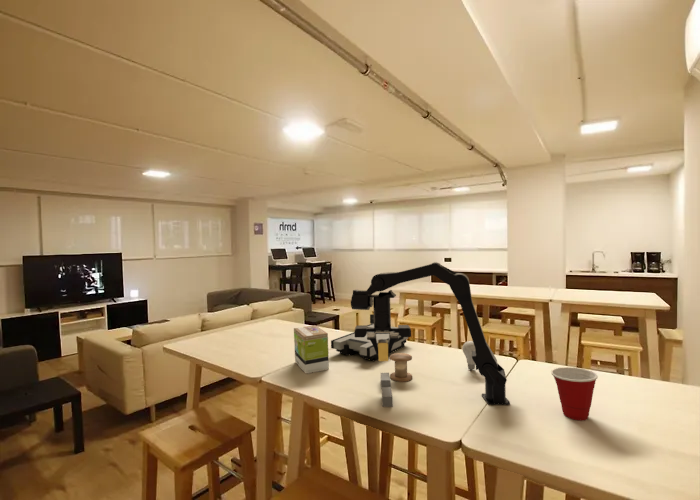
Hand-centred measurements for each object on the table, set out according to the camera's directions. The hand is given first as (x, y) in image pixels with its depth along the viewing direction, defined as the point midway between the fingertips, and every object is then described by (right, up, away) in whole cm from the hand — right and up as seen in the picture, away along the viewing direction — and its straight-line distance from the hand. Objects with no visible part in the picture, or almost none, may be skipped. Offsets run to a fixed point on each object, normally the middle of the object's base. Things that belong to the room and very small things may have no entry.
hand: (383, 356), depth 116 cm
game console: (-1, -10, +41) cm, 42 cm away
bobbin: (+7, -10, +8) cm, 15 cm away
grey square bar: (+1, -11, -5) cm, 11 cm away
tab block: (0, -1, 0) cm, 1 cm away
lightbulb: (+35, -10, +13) cm, 38 cm away
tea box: (-27, -11, +22) cm, 37 cm away
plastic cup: (+51, -10, -22) cm, 56 cm away
